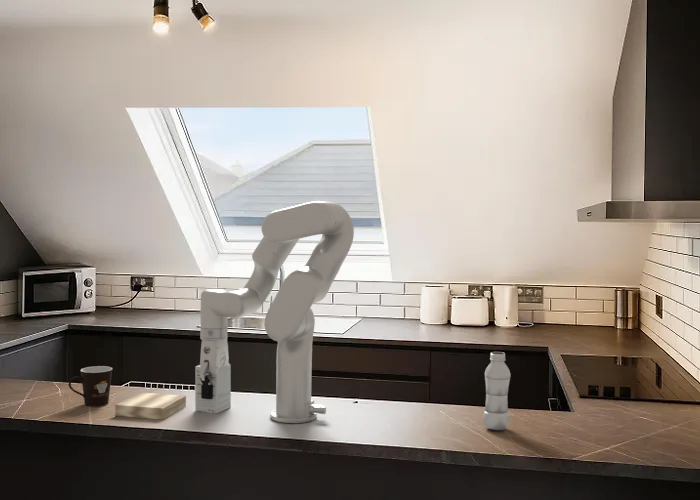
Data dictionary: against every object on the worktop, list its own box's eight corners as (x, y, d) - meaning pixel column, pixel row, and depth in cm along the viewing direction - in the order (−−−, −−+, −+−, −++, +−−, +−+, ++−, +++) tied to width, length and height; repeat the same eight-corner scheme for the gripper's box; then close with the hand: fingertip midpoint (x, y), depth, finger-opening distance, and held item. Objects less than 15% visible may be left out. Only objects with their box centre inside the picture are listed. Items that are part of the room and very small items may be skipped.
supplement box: (209, 404, 205) (210, 361, 204) (231, 407, 202) (231, 363, 201) (194, 410, 198) (194, 365, 197) (216, 414, 195) (216, 368, 194)
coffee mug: (112, 399, 209) (112, 365, 209) (112, 406, 201) (112, 371, 201) (70, 401, 206) (70, 367, 205) (68, 409, 197) (68, 374, 197)
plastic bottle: (480, 425, 188) (482, 350, 187) (506, 426, 187) (508, 351, 187) (484, 432, 181) (486, 355, 180) (511, 433, 181) (513, 355, 180)
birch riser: (185, 406, 203) (185, 395, 202) (162, 419, 189) (162, 408, 189) (141, 402, 206) (141, 392, 205) (115, 415, 192) (115, 404, 192)
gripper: (214, 339, 190) (213, 403, 190) (237, 329, 207) (237, 388, 207) (188, 337, 191) (187, 401, 192) (213, 328, 208) (213, 386, 209)
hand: (213, 394), depth 200 cm, fingers closed on supplement box, 8 cm apart
